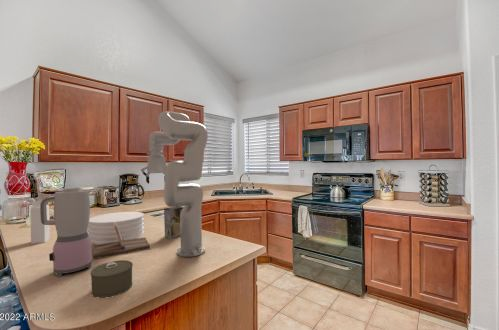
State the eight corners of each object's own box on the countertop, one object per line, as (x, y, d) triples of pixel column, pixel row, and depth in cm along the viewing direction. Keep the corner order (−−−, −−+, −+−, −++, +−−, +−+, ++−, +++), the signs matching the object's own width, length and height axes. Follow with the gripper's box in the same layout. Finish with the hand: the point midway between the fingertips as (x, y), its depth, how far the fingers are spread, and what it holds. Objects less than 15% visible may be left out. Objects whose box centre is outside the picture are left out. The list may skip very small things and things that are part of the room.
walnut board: (149, 248, 115) (149, 243, 115) (93, 259, 103) (93, 252, 103) (145, 239, 128) (145, 235, 128) (94, 248, 116) (94, 242, 116)
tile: (121, 248, 111) (124, 247, 112) (114, 226, 110) (116, 225, 110) (120, 242, 120) (122, 241, 120) (113, 222, 118) (115, 221, 119)
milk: (36, 240, 130) (35, 200, 130) (49, 239, 132) (49, 200, 132) (30, 244, 124) (30, 202, 125) (45, 242, 127) (44, 201, 127)
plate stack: (100, 248, 117) (100, 225, 117) (80, 238, 134) (79, 218, 134) (153, 234, 139) (152, 215, 139) (130, 227, 156) (129, 210, 156)
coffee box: (177, 232, 141) (177, 205, 141) (184, 234, 137) (184, 207, 137) (164, 236, 134) (163, 208, 134) (170, 238, 130) (170, 209, 130)
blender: (89, 260, 101) (88, 186, 101) (95, 268, 93) (94, 187, 93) (40, 272, 90) (38, 189, 90) (42, 283, 82) (41, 191, 82)
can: (91, 303, 70) (91, 280, 70) (90, 286, 79) (89, 266, 79) (136, 290, 77) (135, 269, 77) (129, 276, 86) (129, 257, 86)
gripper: (141, 153, 133) (141, 184, 133) (172, 154, 142) (173, 182, 142) (139, 154, 139) (140, 183, 139) (170, 154, 148) (170, 181, 148)
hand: (157, 182), depth 140 cm, fingers open, 9 cm apart
